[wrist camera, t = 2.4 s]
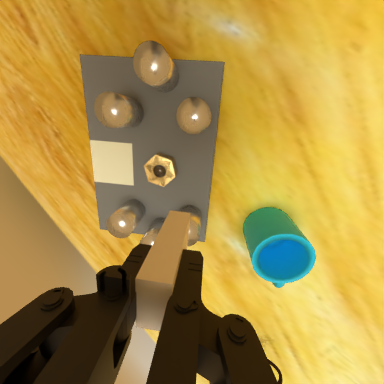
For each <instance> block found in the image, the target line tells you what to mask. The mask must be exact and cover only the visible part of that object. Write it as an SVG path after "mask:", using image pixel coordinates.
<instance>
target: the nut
mask: <svg viewBox="0 0 384 384" xmlns="http://www.w3.org/2000/svg"><path fill="white" fill-rule="evenodd" d="M144 168H145V172H146V175H147V179H148V181H149V182H151V183H154V184H157V185H160V186H162V187H164V186H165V185H166V184H168V183H169V182H170V181H171V180H172V179H173V178H175V177H176V175H177V174H178V173H177V169H176V164H175V160H174V158H172V157H170V156H167V155H164V154H161V153H157V154H156V155H154V156H153V157H152V158H151V159H150V160H149V161H148V162H147V163H146V164H145V165H144Z"/></svg>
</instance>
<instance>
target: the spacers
mask: <svg viewBox="0 0 384 384" xmlns="http://www.w3.org/2000/svg"><path fill="white" fill-rule="evenodd" d="M133 66H134V70H135V72H136V74H137V76H138V77H139V78H140V79H141V80H142V81H143V82H145V83H147V84H148V85H150V86H152V87H153V88H155V89H157V90H158V91H160V92H169V91H171V90H173V89H174V88H175V86H176V85H177V83H178V79H179V74H178V69H177V67H176V66H175V64H174V62H173V61H172V59H171V58H170V56H169V55H168V53H167V52H166V50H165V49H164V48H163V46H162V45H160V44H159V43H157V42H155V41H146V42H143V43H141V44H140V45H139V46H138V47H137V49H136V51H135V53H134V56H133ZM94 110H95V114H96V116H97V118H98V120H99V121H100V122H101V123H102V124H103V125H105V126H107V127H110V128H120V127H135V126H138V125H139V124H140V123H141V122H142V120H143V117H144V111H143V107H142V105H141V104H140V103H139V102H138V101H137V100H136V99H133V98H130V97H127V96H124V95H120V94H117V93H114V92H110V91H106V92H103V93H101V94H99V95H98V97H97V98H96V100H95V104H94ZM176 118H177V122H178V125H179V126H180V128H181V129H182V130H183V131H185V132H186V133H189V134H198V133H201V132H203V131H204V130H205V129H206V128H207V127H208V126H209V124H210V122H211V112H210V108H209V106H208V105H207V103H206V102H205V101H204V100H202V99H201V98H198V97H190V98H187V99H185V100H184V101H182V102H181V104H180V105H179V107H178V109H177V114H176ZM145 212H146V209H145V206H144V205H143V203H142V202H140V201H139V200H136V199H130V200H128V201H127V202H125V203H124V204H123V205H122V206H121V207H120V208H119V209H118V210H117V211H115V212H114V213H113V214H112V215H111V216H110V217H109V218H108V219H107V222H106V227H107V229H108V231H109V232H110V233H111V234H112V235H113V236H115V237H117V238H126V237H128V236H129V235H130V234H131V233H132V231H133V230H134V229H135V227H136V226H137V225H138V223H139V222H140V221H141V219H142V218H143V217H144V215H145ZM180 212H187V213H191V214H190V224H189V234H188V243H187V246H191V245H194V244H195V243H196V242H197V241H198V239H199V234H200V226H201V217H202V215H201V212H200V210H199V209H198V208H197V207H195V206H192V205H187V206H184V207H183V208H181V210H180ZM165 219H166V218H161V217H160V218H156V219H154V220H153V222H152V223H151V225H150V226H149V228H148V230H147V231H146V233H145V235H144V236H143V238H142V239H141V241H140V243H139V244H147V245H153V243H154V241H155V239H156V237H157V235H158V233H159V231H160V229H161V227H162V225H163V223H164V221H165Z"/></svg>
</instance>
